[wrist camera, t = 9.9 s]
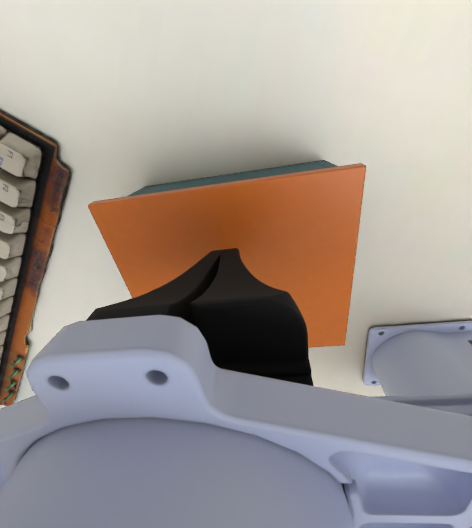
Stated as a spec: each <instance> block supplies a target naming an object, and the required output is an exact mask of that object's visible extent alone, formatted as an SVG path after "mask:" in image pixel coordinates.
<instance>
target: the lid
mask: <svg viewBox="0 0 472 528" xmlns="http://www.w3.org/2000/svg"><path fill="white" fill-rule="evenodd" d="M365 172H366V166H365V165H363V164H361V163H359V164H352V165H345V166H338V167H331V168H324V169H317V170H310V171H303V172H296V173H290V174H283V175H276V176H269V177H262V178H255V179H248V180H241V181H234V182H227V183H220V184H213V185H206V186H199V187H192V188H185V189H178V190H171V191H164V192H157V193H150V194H143V195H136V196H129V197H122V198H115V199H108V200H101V201H94V202H92V203H91V204H89V205H88V207H89V209H90V212H91V214H92V216H93V218H94V220H95V222H96V224H97V226H98V228H99V230H100V232H101V234H102V236H103V238H104V240H105V242H106V244H107V246H108V249H109V251H110V253H111V255H112V257H113V259H114V261H115V263H116V265H117V267H118V269H119V271H120V273H121V275H122V277H123V279H124V281H125V283H126V286H127V288H128V290H129V292H130V294H131V296H132V298H135V297H138V296H140V295H143V294H146V293H148V292H150V291H152V290H154V289H157V288H159V287H161V286H163V285H165V284H167V283H168V282H170V281H172V280H174V279H175V278H177V277H178V276H180V275H181V274H183V273H184V272H185V271H187V270H188V269H189V268H191V267H192V266H194V265H195V264H196V263H197V262H198V261H200V260H201V259H202V258H203V257H204V256H206V255H207V254H208V253H209V252H211V251H214V250H223V249H232V248H237V249H239V252H240V258H241V260H242V262H243V263H244V265H245V266H246V268H247V269H248V270H249V272H250V273H251V274H252V275H253V276H254V277H255V278H257V279H258V280H259V281H261V282H262V283H264V284H266V285H268V286H270V287H273V288H276V289H279V290H283V291H287V292H288V293H289V294H290V295H291V297H292V298H293V300H294V301H295V303H296V305H297V306H298V308H299V310H300V312H301V314H302V316H303V318H304V320H305V323H306V326H307V332H308V347H324V346H341V345H345V340H346V332H347V323H348V315H349V306H350V298H351V289H352V281H353V273H354V264H355V256H356V247H357V239H358V230H359V222H360V214H361V205H362V197H363V188H364V180H365Z"/></svg>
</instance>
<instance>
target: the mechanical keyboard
mask: <svg viewBox="0 0 472 528" xmlns="http://www.w3.org/2000/svg"><path fill="white" fill-rule="evenodd" d="M56 157H57V144H56V143H55V142H54V141H53V140H52V139H51V138H48V137H46V136H45V135H43V136H42V134H41V133H40V132H38V131H36V130H34V129H33V128H31V127H29V126H28V125H26V124H24V123H22V122H21V121H19V120H17V119H15V118H13V117H12V116H10V115H8V114H6V113H5V112H2V111H1V110H0V405H5V406H9V405H12V404H13V403H14V399H15V397H16V394H17V390H18V386H19V382H20V378H21V375H22V371H23V368H24V364H25V361H26V356H27V352H28V348H29V345H28V344H27V343H26V342H25V339H26V338H25V337H26V335H27V334H28V333H29V332H31V331H32V318H33V313H34V309H35V303H36V300H37V297H38V296H37V293H38V291H39V286H40V282H41V280H42V278H43V276H44V273H45V271H46V269H45V266H46V264H47V262H48V258H49V257H50V255H51V252H52V248H53V245H52V242H53V239H54V234H55V231H56V228H57V225H58V223H59V219H60V212H61V210H62V204H63V202H64V199H65V196H66V193H67V187H68V182H69V179H70V176H69V174H70V172H69V170H68V168H67V167H66V166H65V165H63V164H62V163H60V162H59V161H58V160H57V158H56ZM15 384H16V387H14V385H15Z"/></svg>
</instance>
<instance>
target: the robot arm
mask: <svg viewBox="0 0 472 528" xmlns="http://www.w3.org/2000/svg"><path fill="white" fill-rule="evenodd" d="M381 331H382V332H381ZM379 332H380V333H379ZM26 374H27V378H28V380H29V383H30V385H31V388H32V390H33V391H34V393H35V394H36V395H35V396H32V397H30V398H27V399H25V400H22V401H20V402H17V403H14V404H12V405H9V406H7V407H4V408H2V409H0V528H472V321H459V322H444V323H430V324H415V325H401V326H386V327H374V328H371V329H370V330H369V334H368V342H367V351H366V359H365V367H364V375H363V382H364V384H365V385H381V387H382V389H383V391H384V393H385V395H386V396H380V397H368V396H362V395H357V394H352V393H347V392H341V391H336V390H331V389H326V388H320V387H315V386H313V382H312V377H311V367H310V363H309V359H308V332H307V326H306V323H305V320H304V318H303V316H302V314H301V312H300V310H299V308H298V306H297V305H296V303H295V301H294V300H293V298H292V297H291V295H290V294H289V293H288V292H287V291H283V290H279V289H276V288H273V287H270V286H268V285H266V284H264V283H262V282H261V281H259V280H258V279H257V278H255V277H254V276H253V275H252V274H251V273H250V272H249V270H248V269H247V268H246V266H245V265H244V263H243V262H242V260H241V258H240V252H239V249H237V248H232V249H223V250H214V251H211V252H209V253H208V254H207V255H206V256H204V257H203V258H202V259H201V260H200V261H198V262H197V263H196V264H195V265H194V266H192V267H191V268H189V269H188V270H187V271H185V272H184V273H183V274H181V275H180V276H178V277H177V278H175V279H174V280H172V281H170V282H168V283H167V284H165V285H163V286H161V287H159V288H157V289H154V290H152V291H150V292H148V293H146V294H143V295H140V296H138V297H135V298H132V299H129V300H126V301H123V302H120V303H116V304H113V305H109V306H105V307H101V308H97V309H95V311H94V312H93V313H92V314H91V315H90V316H89V318H88V319H87V320H86V321H79V322H76V323H73V324H70V325H67V326H65V327H63V328H62V329H61V330H60V331H59V332H58V333H57V334H56V336H55V337H54V338H53V339H52V340H51V341H50V342H49V343H48V344H47V345H46V346H45V347H44V348H43V349H42V350H41V351H40V352H39V353H38V354H37V355H36V357H35V358H34V359H33V360H32V361H31V363H30V365H29V367H28V369H27V371H26Z"/></svg>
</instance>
